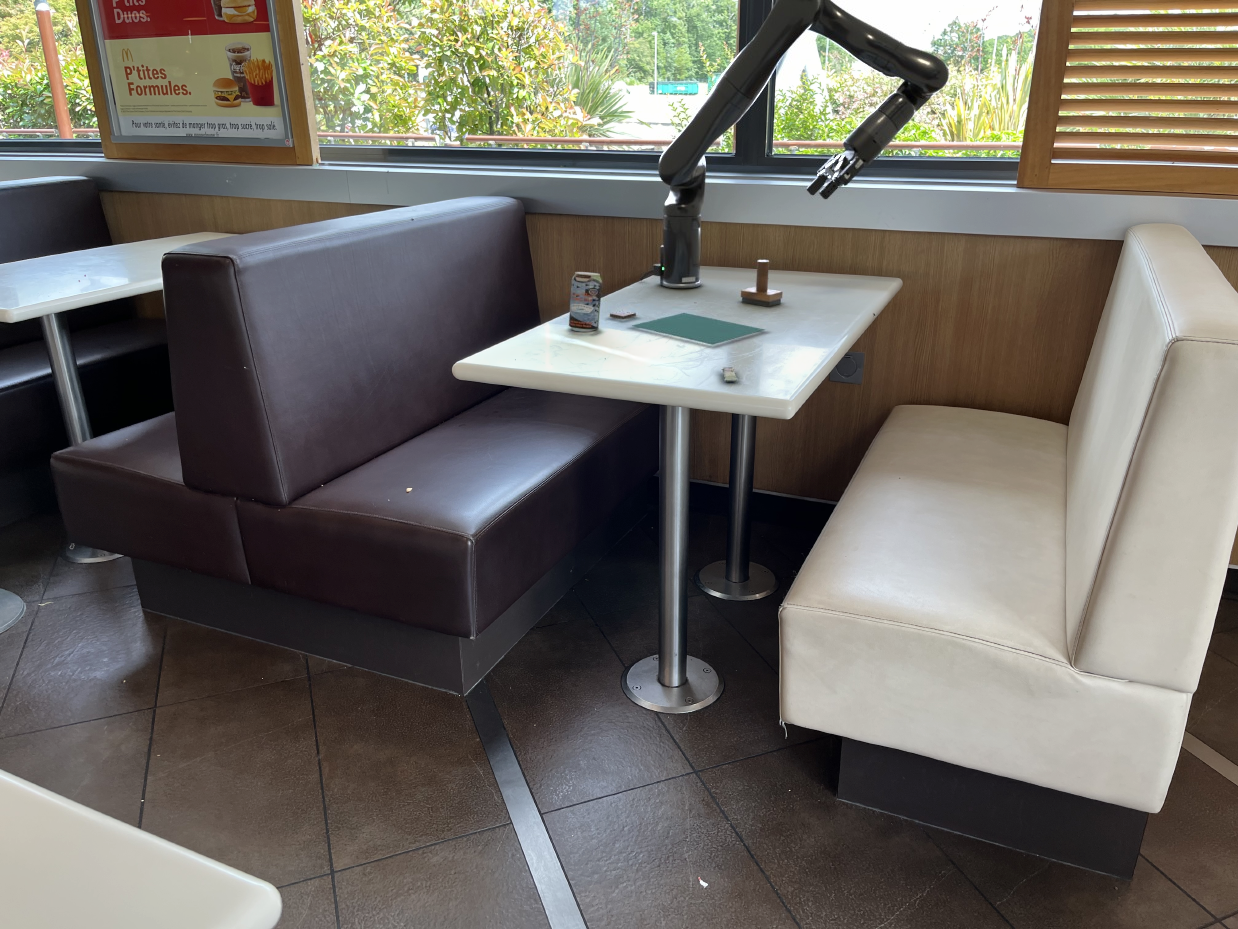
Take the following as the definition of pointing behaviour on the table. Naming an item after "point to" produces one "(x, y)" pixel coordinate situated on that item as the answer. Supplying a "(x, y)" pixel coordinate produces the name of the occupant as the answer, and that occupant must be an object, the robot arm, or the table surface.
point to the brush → (761, 288)
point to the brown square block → (622, 314)
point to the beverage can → (585, 301)
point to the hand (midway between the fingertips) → (815, 194)
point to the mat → (698, 328)
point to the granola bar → (729, 374)
